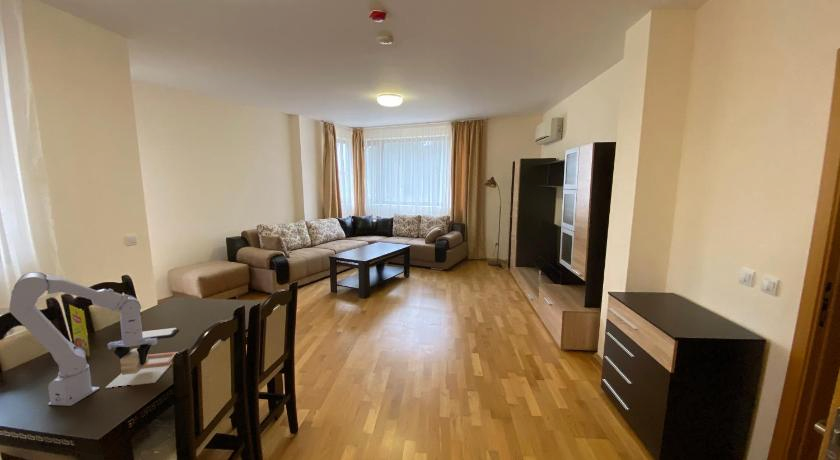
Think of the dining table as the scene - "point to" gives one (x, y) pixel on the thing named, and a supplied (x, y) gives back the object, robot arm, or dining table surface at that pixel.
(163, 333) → the phone case
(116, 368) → the dining table surface
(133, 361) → the block
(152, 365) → the frame
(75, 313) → the food package
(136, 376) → the mat
